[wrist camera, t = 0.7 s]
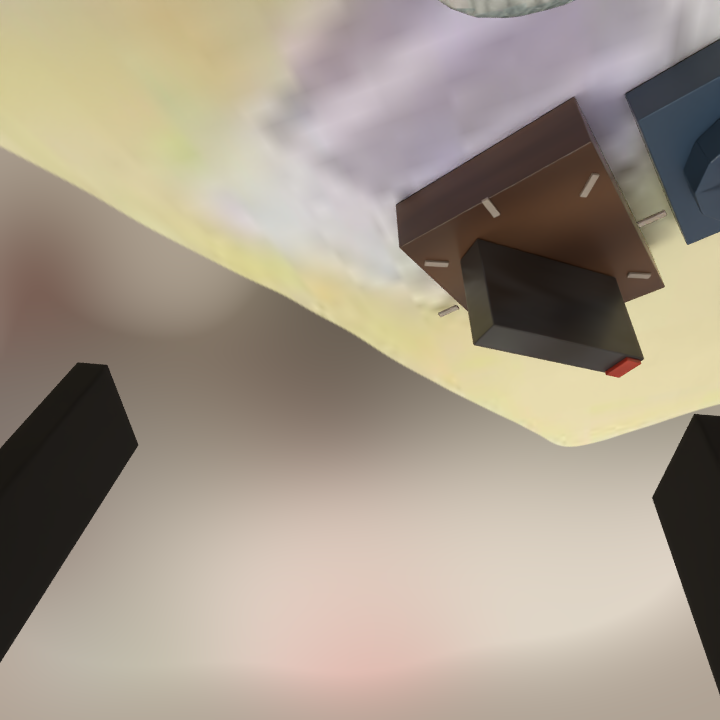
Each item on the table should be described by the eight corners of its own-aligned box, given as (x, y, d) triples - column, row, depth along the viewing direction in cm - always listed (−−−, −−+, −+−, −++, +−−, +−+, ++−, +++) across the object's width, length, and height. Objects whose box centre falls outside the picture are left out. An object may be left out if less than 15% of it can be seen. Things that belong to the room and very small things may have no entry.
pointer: (459, 260, 32) (473, 349, 29) (477, 237, 30) (494, 328, 27) (593, 296, 35) (619, 379, 32) (615, 277, 34) (646, 363, 30)
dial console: (373, 216, 34) (375, 261, 32) (605, 75, 26) (627, 121, 24) (481, 319, 43) (488, 358, 41) (674, 236, 36) (694, 279, 34)
